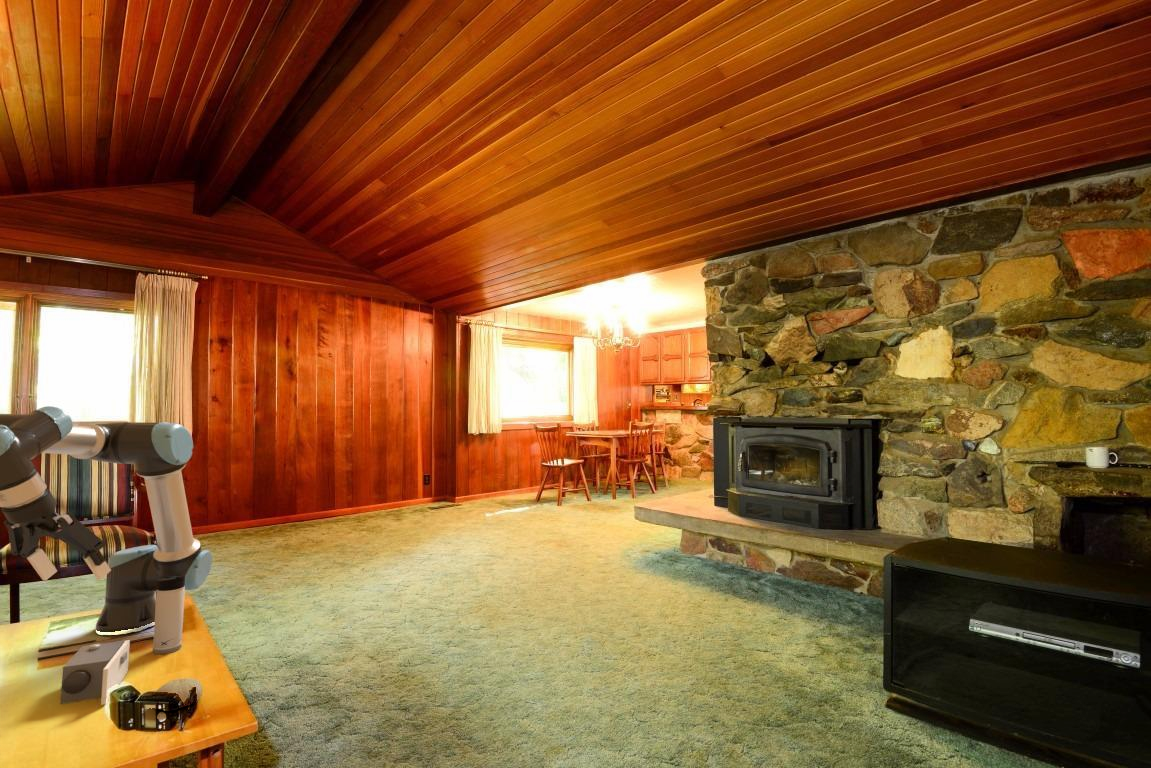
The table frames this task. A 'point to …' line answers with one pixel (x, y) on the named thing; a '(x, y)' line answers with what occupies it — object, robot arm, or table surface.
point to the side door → (115, 670)
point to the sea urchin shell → (182, 687)
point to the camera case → (86, 672)
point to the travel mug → (169, 614)
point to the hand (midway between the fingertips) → (77, 575)
